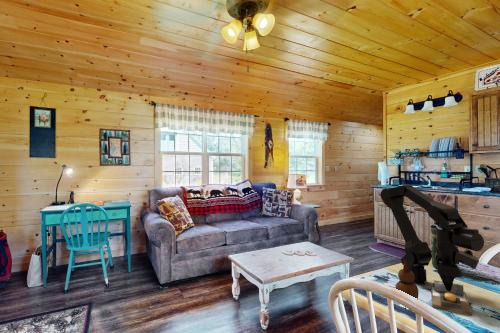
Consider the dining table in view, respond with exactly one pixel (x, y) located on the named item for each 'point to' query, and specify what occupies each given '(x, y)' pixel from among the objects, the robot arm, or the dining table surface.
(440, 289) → the cylinder
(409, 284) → the wooden figurine
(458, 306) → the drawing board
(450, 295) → the button
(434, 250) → the coffee jar
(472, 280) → the dining table surface
